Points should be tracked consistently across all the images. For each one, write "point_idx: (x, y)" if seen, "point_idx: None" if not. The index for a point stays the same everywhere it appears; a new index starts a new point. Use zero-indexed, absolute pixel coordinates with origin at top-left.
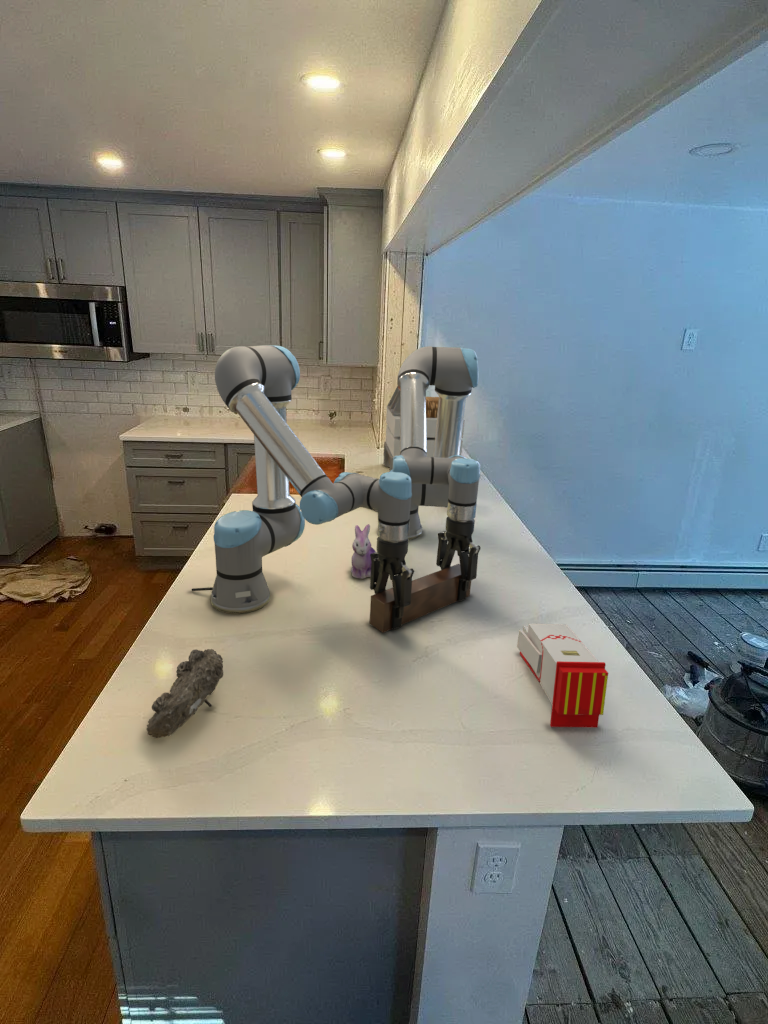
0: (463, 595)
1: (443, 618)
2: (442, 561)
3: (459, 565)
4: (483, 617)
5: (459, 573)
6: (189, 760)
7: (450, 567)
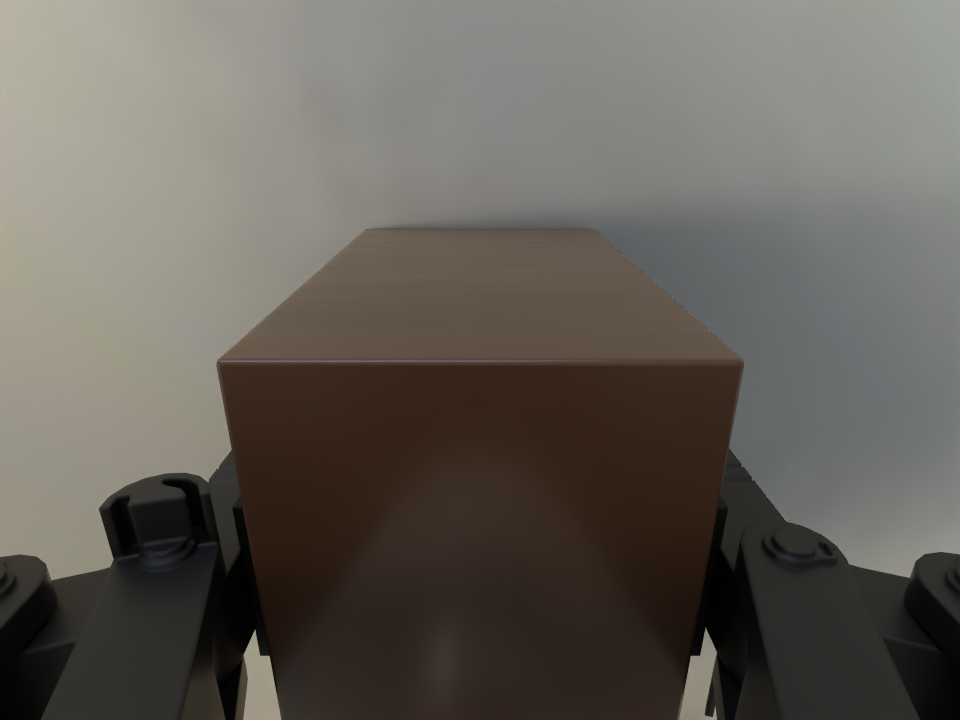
0: None
1: (685, 695)
2: (2, 691)
3: (327, 429)
4: (953, 456)
5: (629, 694)
6: None
7: (304, 652)
